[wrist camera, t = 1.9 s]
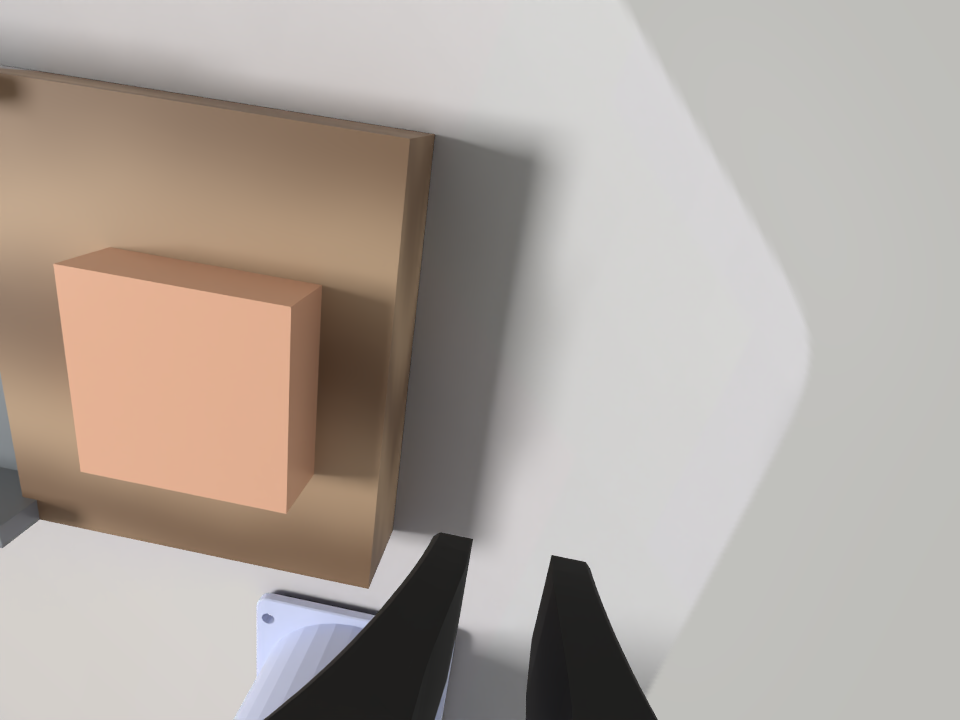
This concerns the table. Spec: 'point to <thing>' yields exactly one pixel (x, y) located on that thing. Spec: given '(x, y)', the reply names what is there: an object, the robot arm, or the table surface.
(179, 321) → the terracotta tile
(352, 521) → the walnut plate
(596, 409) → the table surface
